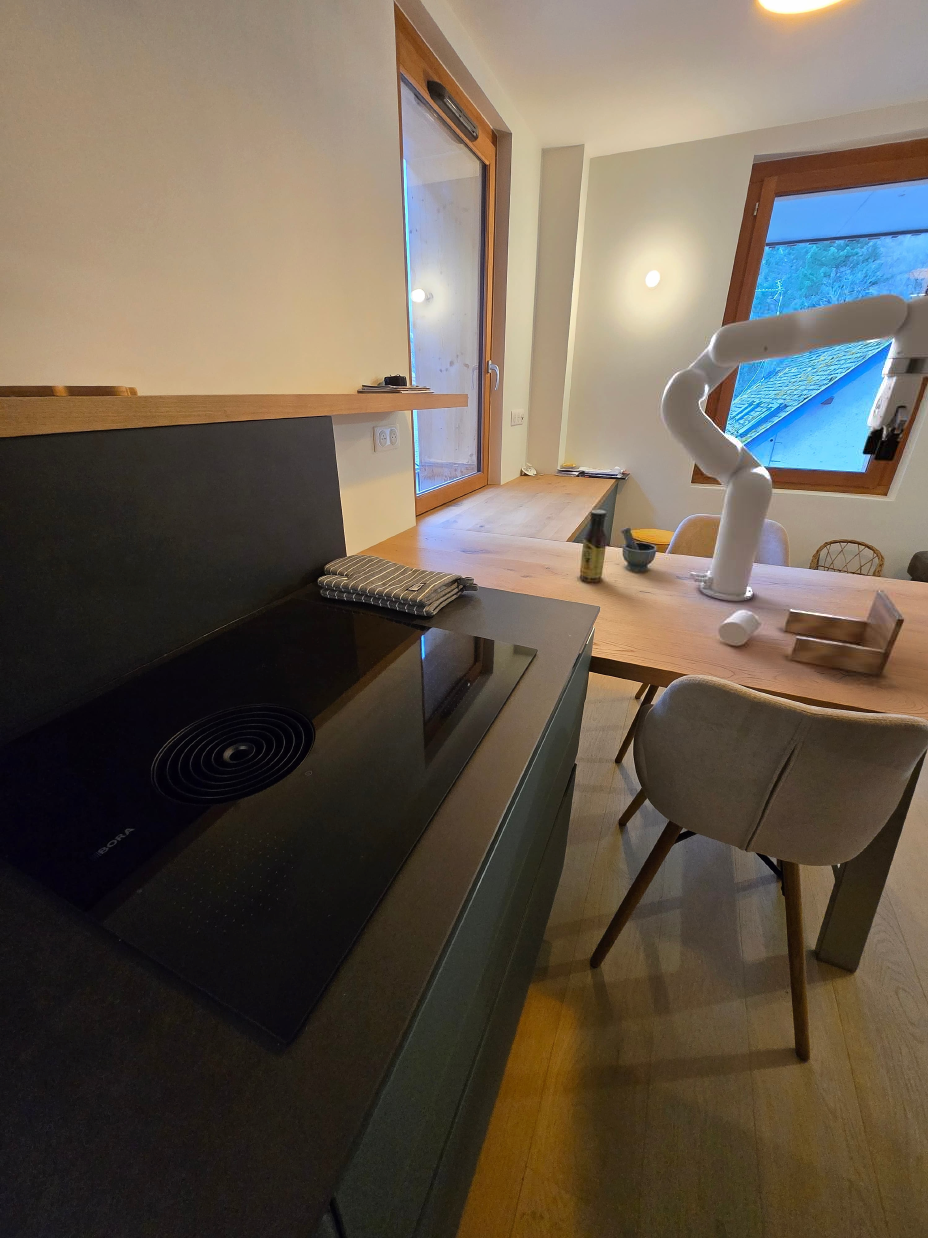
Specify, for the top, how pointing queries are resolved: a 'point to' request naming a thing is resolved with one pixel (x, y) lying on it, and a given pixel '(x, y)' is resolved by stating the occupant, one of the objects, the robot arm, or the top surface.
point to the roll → (739, 628)
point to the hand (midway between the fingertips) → (876, 457)
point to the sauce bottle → (594, 548)
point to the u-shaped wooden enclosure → (847, 637)
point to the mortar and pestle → (637, 552)
